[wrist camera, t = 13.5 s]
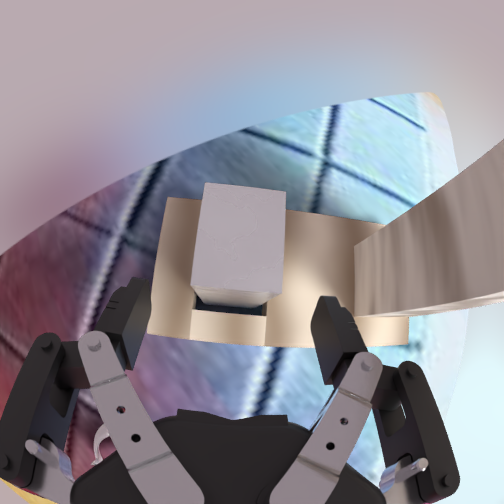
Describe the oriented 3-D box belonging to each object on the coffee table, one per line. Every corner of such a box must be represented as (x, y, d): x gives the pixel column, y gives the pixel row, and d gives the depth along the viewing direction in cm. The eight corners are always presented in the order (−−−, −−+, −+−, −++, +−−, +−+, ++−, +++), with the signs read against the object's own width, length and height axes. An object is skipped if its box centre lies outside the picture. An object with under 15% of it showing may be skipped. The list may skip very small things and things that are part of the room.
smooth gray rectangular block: (204, 304, 22) (190, 285, 12) (211, 246, 23) (205, 182, 13) (252, 308, 22) (281, 293, 12) (257, 250, 24) (286, 191, 13)
